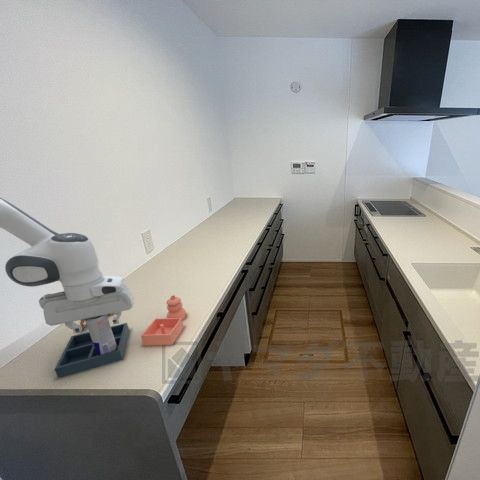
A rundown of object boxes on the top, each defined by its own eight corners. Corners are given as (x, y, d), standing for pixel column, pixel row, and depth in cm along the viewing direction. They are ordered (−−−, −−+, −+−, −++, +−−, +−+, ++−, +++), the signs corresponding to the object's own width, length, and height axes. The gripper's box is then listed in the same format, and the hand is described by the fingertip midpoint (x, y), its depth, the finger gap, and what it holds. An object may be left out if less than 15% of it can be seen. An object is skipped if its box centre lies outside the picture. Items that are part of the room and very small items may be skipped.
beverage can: (113, 345, 88) (101, 307, 82) (121, 351, 85) (109, 313, 80) (95, 355, 84) (81, 316, 78) (102, 362, 81) (88, 322, 76)
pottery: (172, 344, 89) (166, 321, 86) (143, 345, 89) (136, 321, 85) (193, 312, 106) (189, 291, 103) (169, 313, 106) (164, 292, 102)
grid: (58, 378, 76) (54, 369, 75) (74, 344, 89) (71, 335, 88) (122, 359, 83) (119, 351, 82) (129, 330, 96) (126, 322, 95)
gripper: (31, 302, 68) (48, 344, 73) (126, 285, 77) (136, 324, 82) (41, 290, 74) (57, 330, 78) (129, 276, 83) (138, 313, 87)
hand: (98, 327), depth 80 cm, fingers open, 8 cm apart
